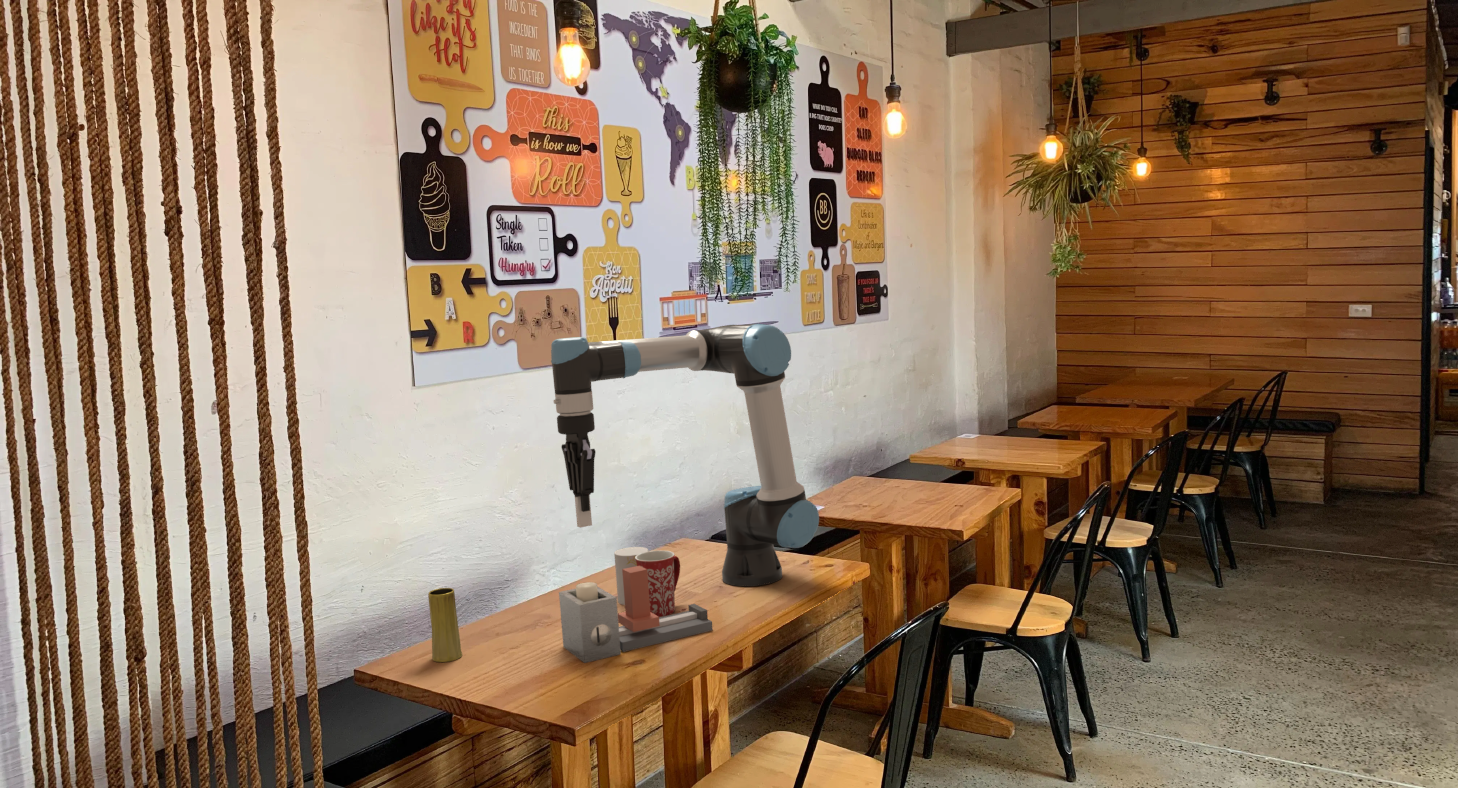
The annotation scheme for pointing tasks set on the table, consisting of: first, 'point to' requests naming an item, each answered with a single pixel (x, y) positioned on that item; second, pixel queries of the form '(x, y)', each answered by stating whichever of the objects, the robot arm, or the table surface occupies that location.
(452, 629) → the vase
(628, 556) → the cup
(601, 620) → the grey box holder
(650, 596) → the mug
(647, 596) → the carriage
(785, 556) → the table surface
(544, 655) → the table surface
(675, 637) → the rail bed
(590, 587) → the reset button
